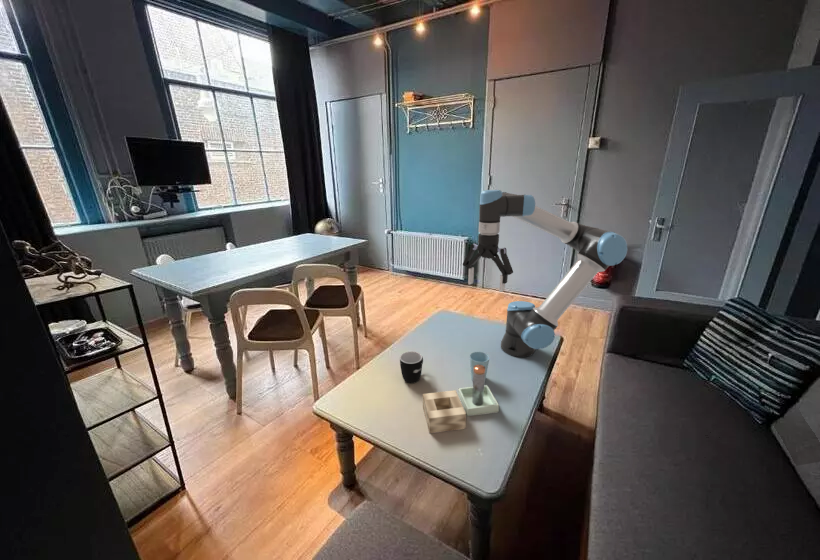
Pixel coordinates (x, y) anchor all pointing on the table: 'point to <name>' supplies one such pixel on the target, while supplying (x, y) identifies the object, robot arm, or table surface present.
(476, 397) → the peg
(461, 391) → the tray
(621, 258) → the robot arm
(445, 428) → the eye block
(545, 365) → the table surface
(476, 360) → the cup
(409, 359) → the mug
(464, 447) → the table surface
